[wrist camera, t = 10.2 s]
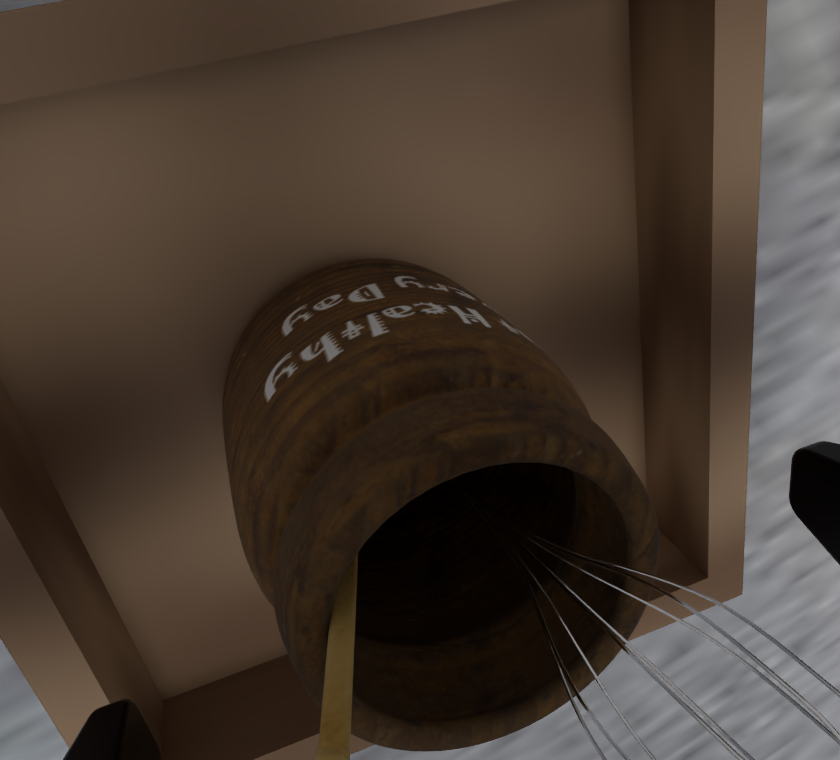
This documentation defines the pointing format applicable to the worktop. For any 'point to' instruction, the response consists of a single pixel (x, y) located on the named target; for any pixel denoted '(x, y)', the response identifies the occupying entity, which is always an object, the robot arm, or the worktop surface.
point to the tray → (330, 244)
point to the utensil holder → (436, 515)
